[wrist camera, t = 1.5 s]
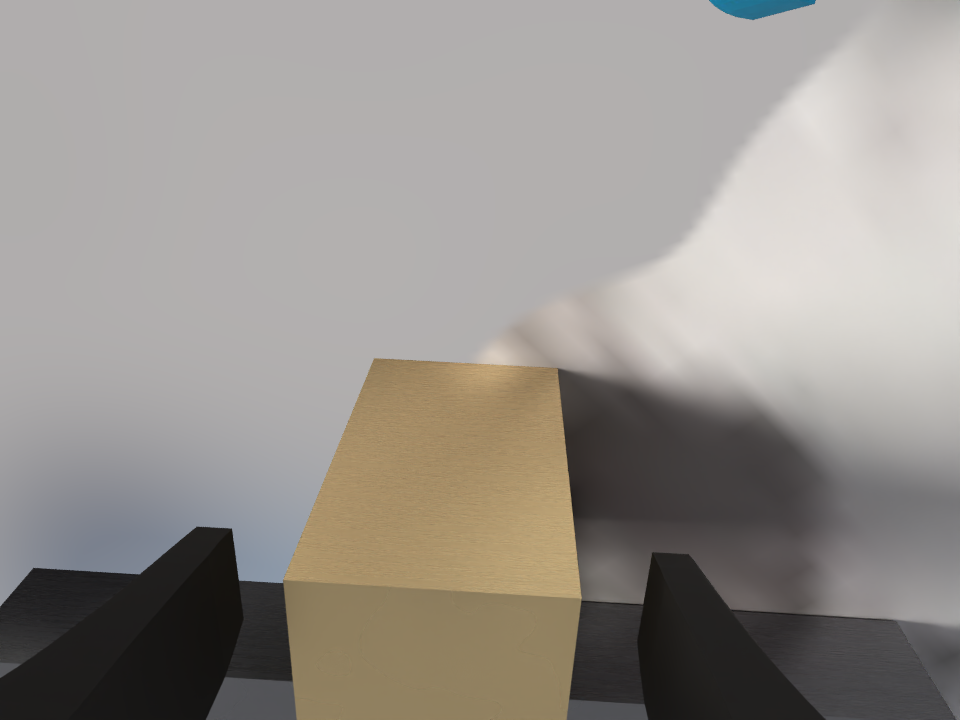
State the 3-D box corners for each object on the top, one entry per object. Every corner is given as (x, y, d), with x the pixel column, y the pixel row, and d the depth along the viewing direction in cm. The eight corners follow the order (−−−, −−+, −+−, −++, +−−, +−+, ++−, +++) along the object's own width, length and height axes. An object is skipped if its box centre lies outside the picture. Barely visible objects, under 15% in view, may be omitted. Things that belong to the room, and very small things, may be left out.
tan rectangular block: (557, 368, 16) (581, 598, 10) (543, 517, 18) (557, 795, 12) (374, 358, 16) (283, 580, 10) (378, 507, 18) (302, 777, 12)
